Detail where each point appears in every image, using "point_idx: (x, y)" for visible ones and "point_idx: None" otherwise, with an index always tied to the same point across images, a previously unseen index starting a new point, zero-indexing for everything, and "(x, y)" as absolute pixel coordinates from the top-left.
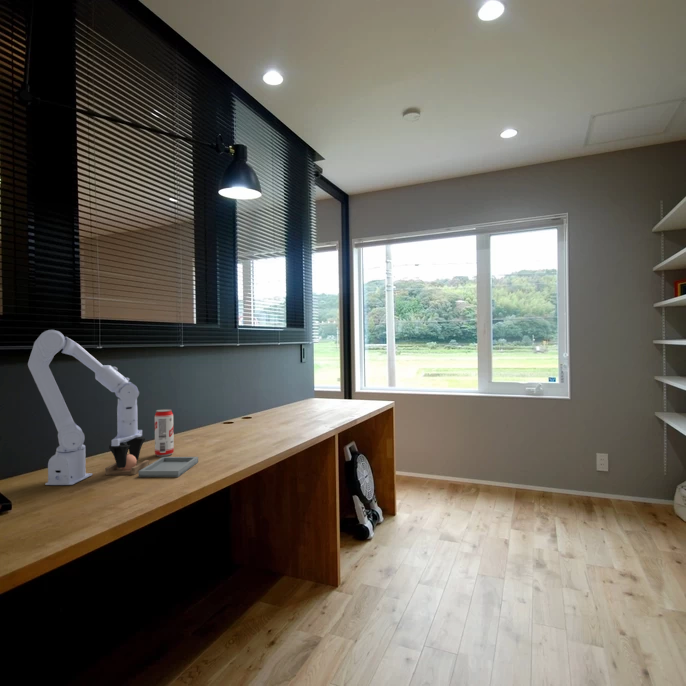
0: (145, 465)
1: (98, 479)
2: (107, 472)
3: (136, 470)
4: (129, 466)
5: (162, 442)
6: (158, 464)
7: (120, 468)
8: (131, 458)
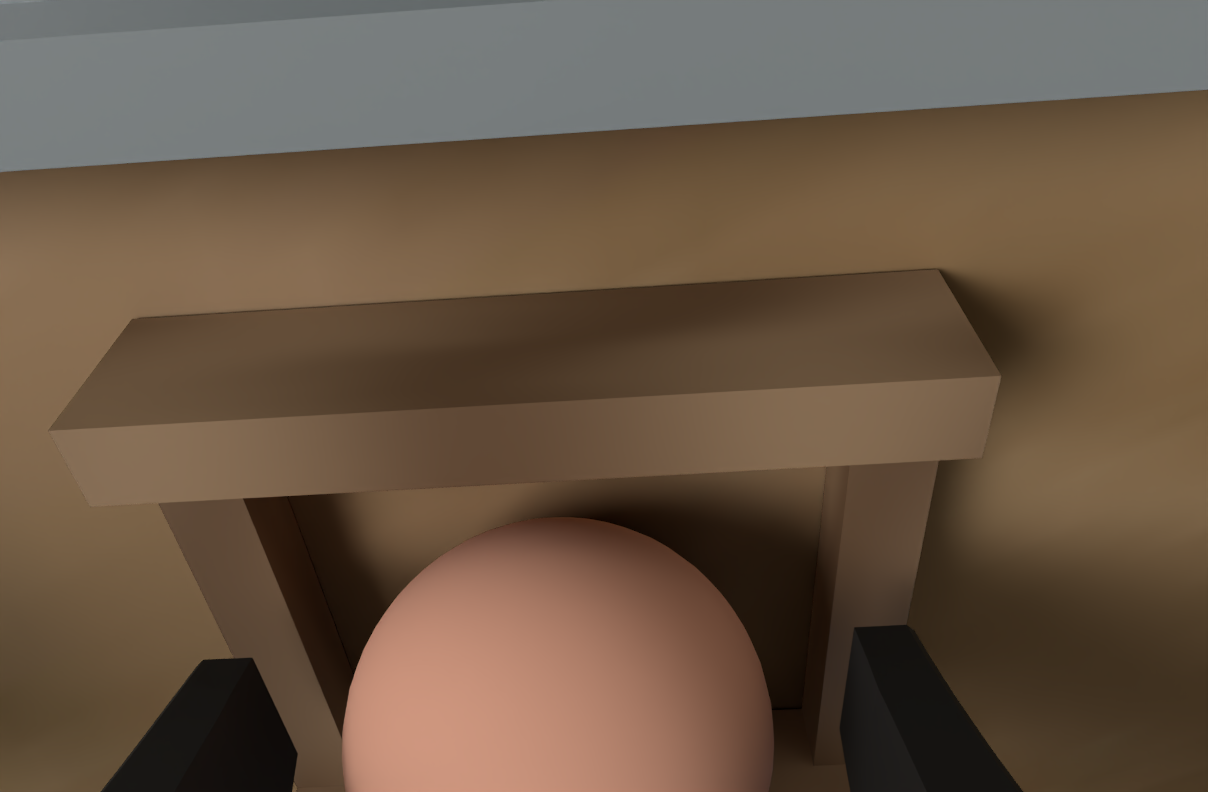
0: (312, 350)
1: (1132, 707)
2: None
3: (854, 320)
4: (712, 586)
5: None
6: (31, 6)
7: None
8: (641, 759)
